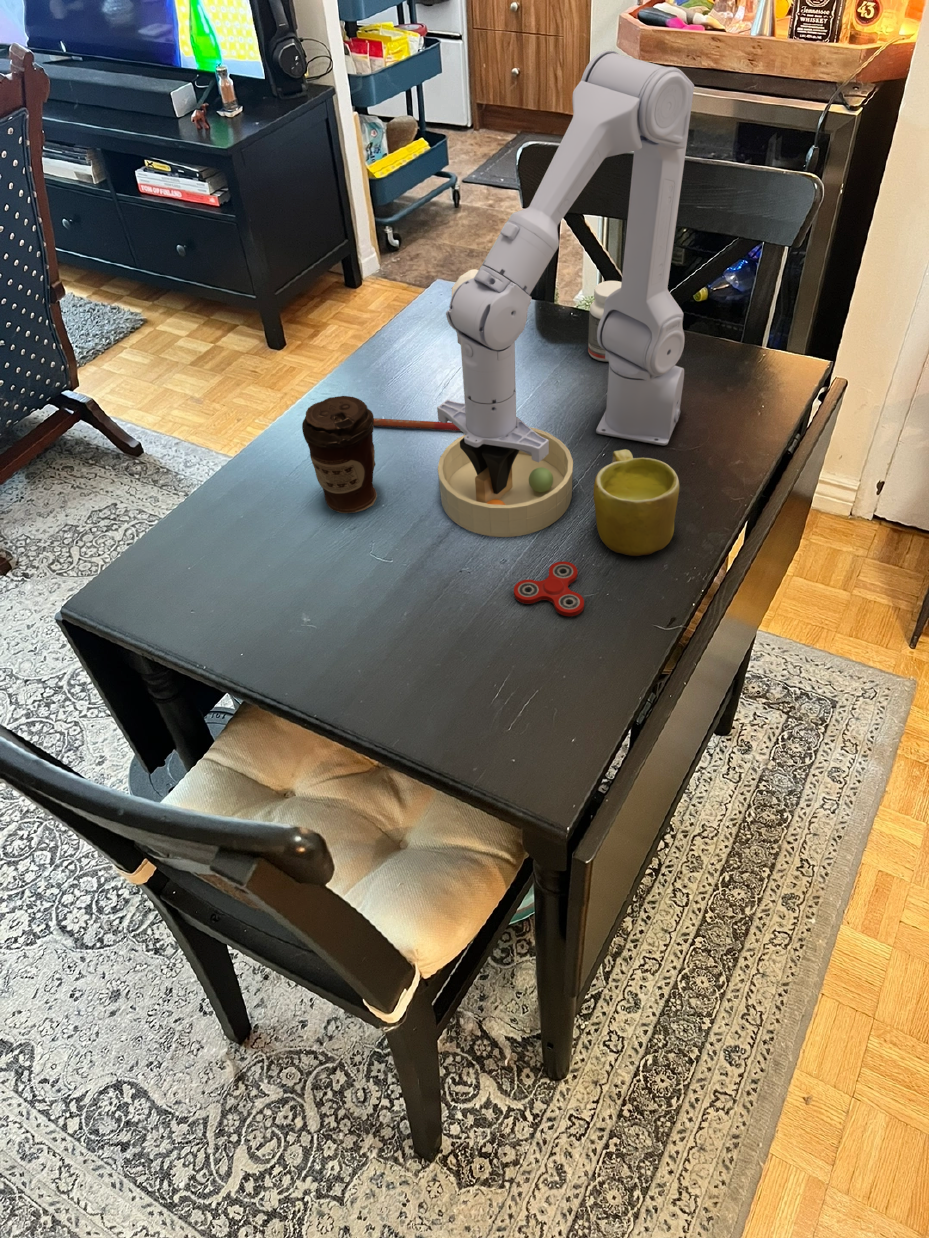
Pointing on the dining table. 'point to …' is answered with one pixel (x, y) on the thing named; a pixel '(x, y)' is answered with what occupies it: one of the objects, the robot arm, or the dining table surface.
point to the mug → (635, 504)
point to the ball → (464, 279)
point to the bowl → (522, 502)
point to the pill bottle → (599, 316)
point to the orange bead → (496, 502)
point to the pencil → (415, 424)
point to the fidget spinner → (553, 589)
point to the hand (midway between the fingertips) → (494, 486)
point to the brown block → (489, 487)
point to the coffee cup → (342, 451)
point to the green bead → (540, 479)
